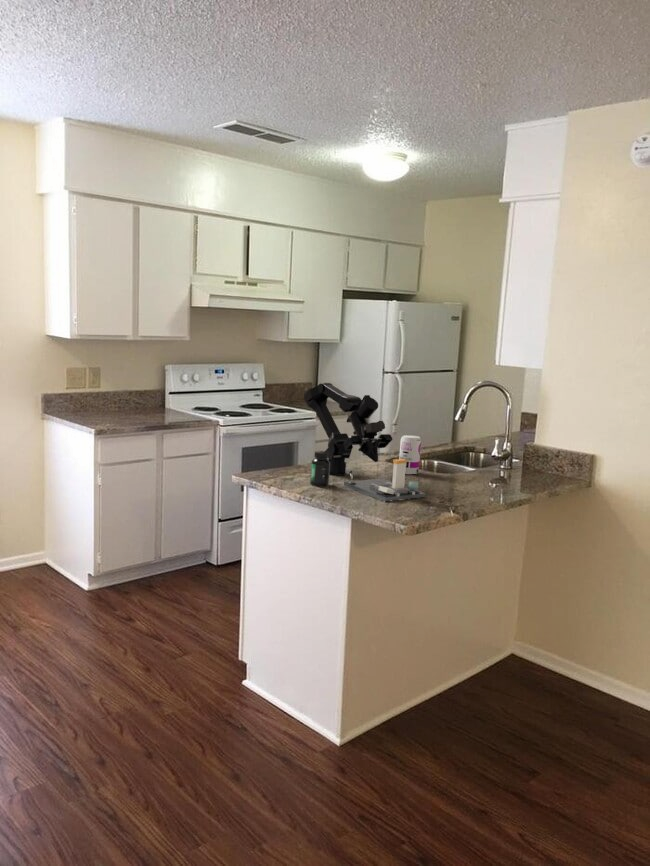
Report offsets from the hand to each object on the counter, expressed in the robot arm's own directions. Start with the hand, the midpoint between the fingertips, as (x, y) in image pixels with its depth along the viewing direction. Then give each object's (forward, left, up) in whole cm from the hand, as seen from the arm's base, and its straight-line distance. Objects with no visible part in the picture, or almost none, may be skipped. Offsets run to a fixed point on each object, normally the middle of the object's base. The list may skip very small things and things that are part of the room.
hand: (376, 461), depth 260 cm
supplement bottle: (-20, -2, -10) cm, 22 cm away
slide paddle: (+8, -10, -8) cm, 15 cm away
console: (+3, -4, -10) cm, 11 cm away
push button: (+14, -7, -7) cm, 17 cm away
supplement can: (+12, +31, -10) cm, 35 cm away
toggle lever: (-8, -2, -7) cm, 11 cm away
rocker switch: (+4, -15, -7) cm, 17 cm away
